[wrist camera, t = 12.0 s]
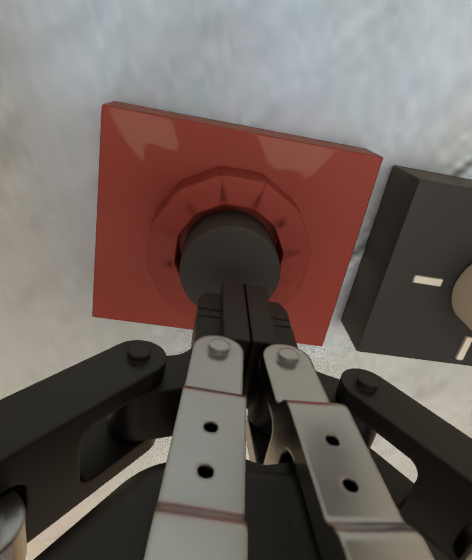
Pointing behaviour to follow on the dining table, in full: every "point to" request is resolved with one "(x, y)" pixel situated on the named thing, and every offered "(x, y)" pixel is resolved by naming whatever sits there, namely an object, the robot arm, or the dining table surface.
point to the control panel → (414, 270)
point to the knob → (463, 297)
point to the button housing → (221, 197)
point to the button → (228, 255)
